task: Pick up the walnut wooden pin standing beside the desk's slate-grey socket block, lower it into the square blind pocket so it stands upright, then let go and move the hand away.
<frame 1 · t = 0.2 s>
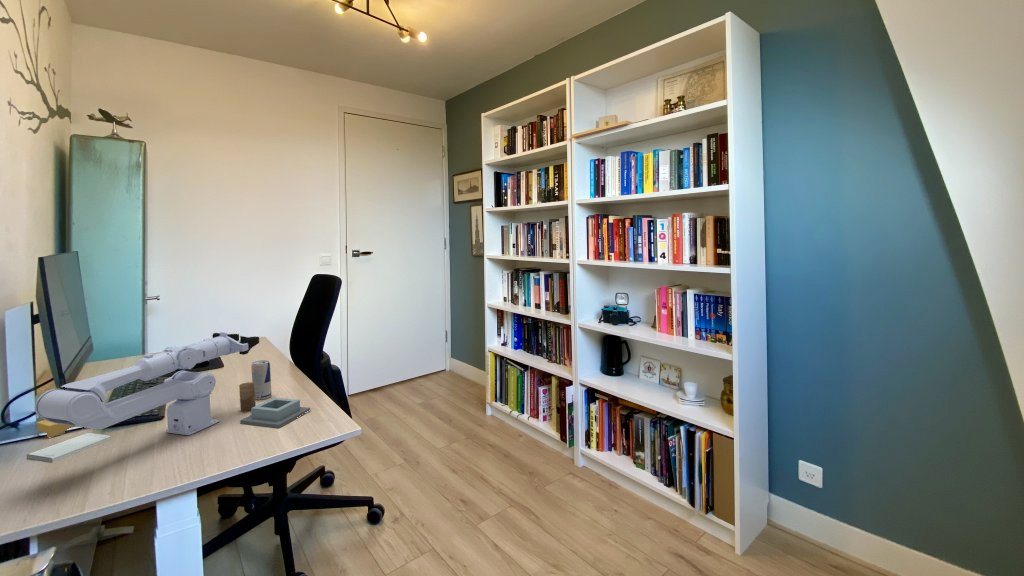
hand: (248, 338, 139), 21 cm above the table, tool horizontal, fingers open, 7 cm apart
socket block: (276, 417, 129), on the table
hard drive: (71, 451, 109), on the table
energy drink: (262, 397, 146), on the table
walnut pin: (248, 409, 135), on the table
rubber stamp: (68, 430, 120), on the table
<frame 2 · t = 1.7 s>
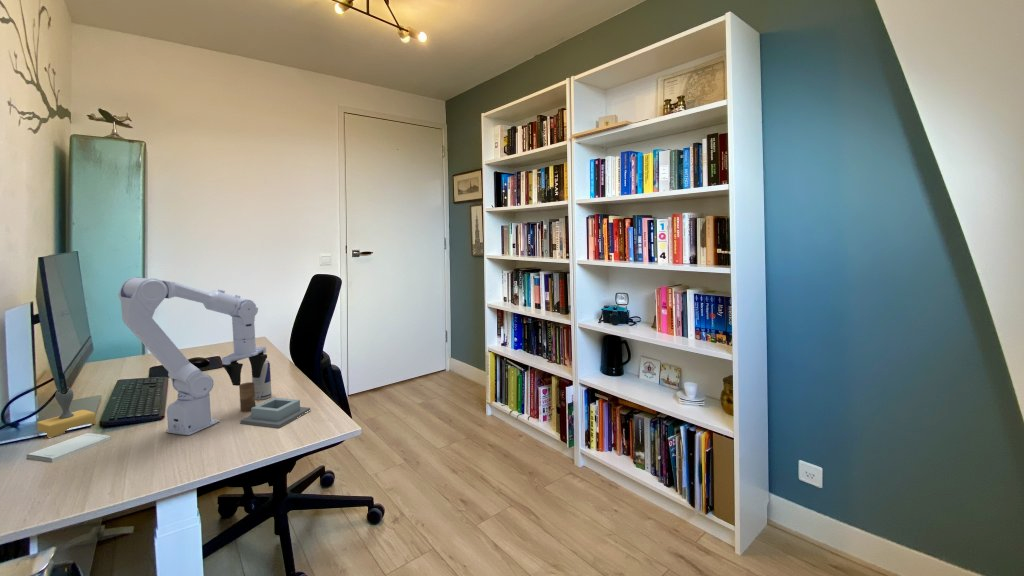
hand: (246, 381, 134), 9 cm above the table, tool pointing down, fingers open, 7 cm apart
nothing on the table moved.
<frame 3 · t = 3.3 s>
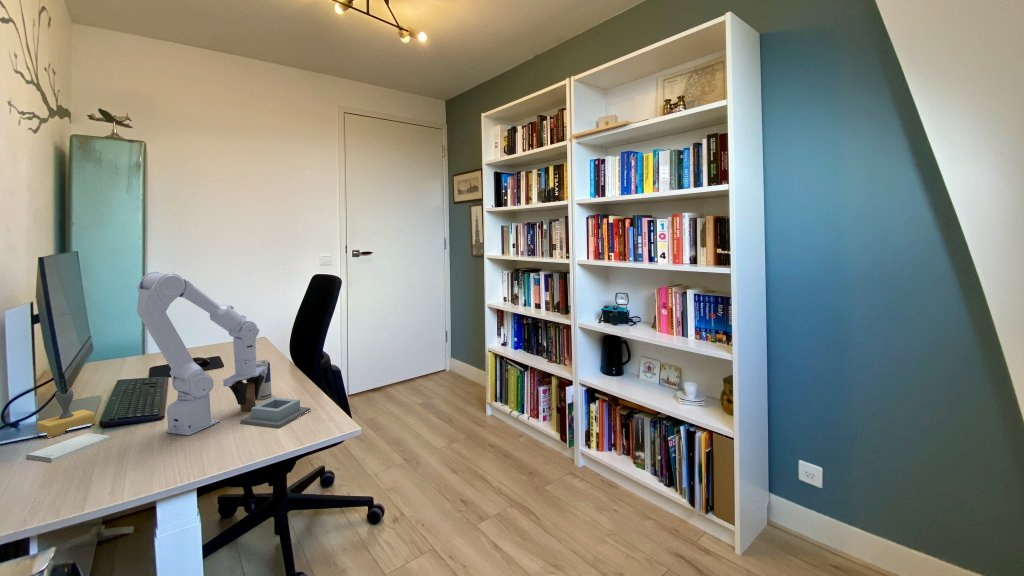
hand: (247, 401, 135), 2 cm above the table, tool pointing down, fingers closed on walnut pin, 4 cm apart
walnut pin: (248, 409, 135), on the table, touching gripper
everything else where it was.
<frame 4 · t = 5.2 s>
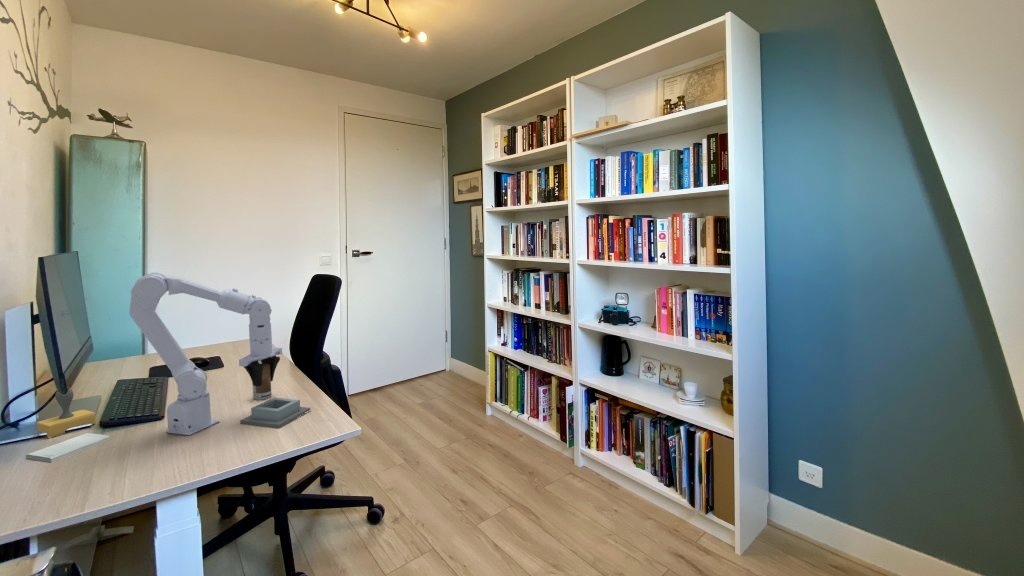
hand: (263, 383, 131), 9 cm above the table, tool pointing down, fingers closed on walnut pin, 4 cm apart
walnut pin: (263, 391, 131), point 7 cm above the table, touching gripper
everything else where it was.
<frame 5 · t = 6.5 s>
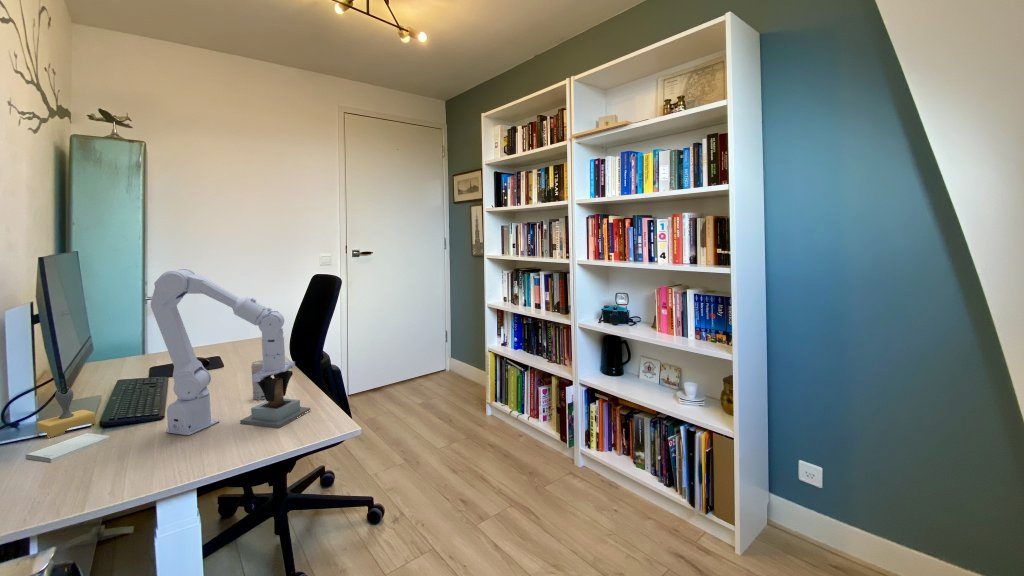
hand: (275, 398, 129), 6 cm above the table, tool pointing down, fingers closed on walnut pin, 4 cm apart
walnut pin: (276, 406, 129), point 3 cm above the table, touching gripper
everything else where it was.
when the fingers open (5 cm above the table, at t = 7.5 s): walnut pin drops 1 cm, resting on socket block.
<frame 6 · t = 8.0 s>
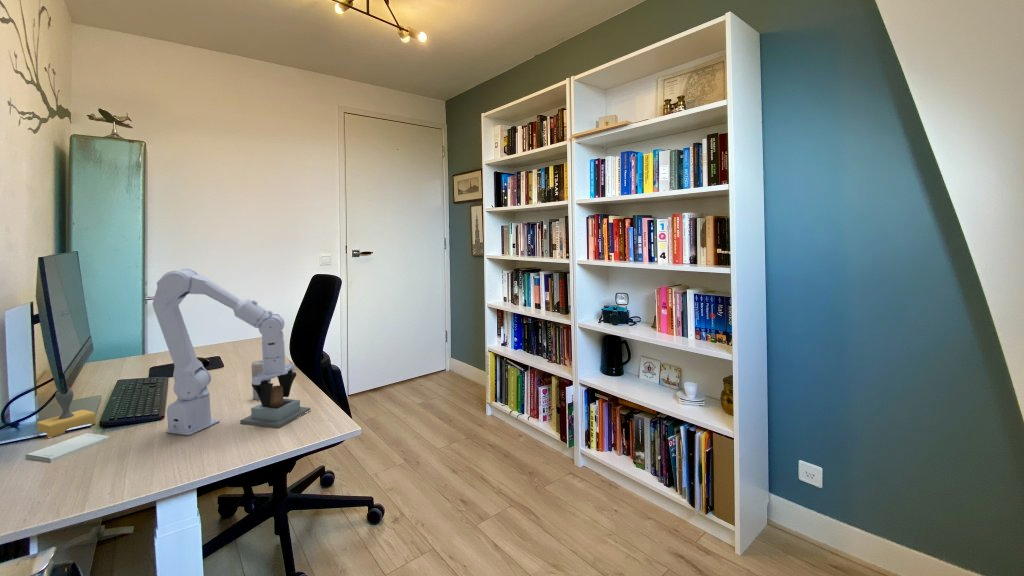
hand: (275, 401, 129), 5 cm above the table, tool pointing down, fingers open, 7 cm apart
walnut pin: (276, 413, 129), point 1 cm above the table, touching socket block
everything else where it was.
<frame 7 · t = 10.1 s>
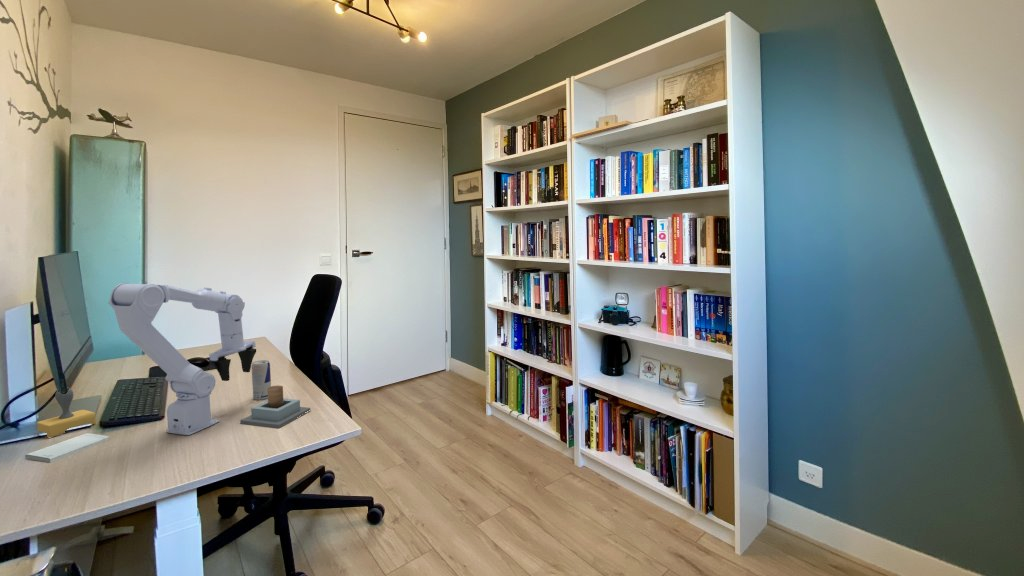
hand: (236, 376, 135), 10 cm above the table, tool pointing down, fingers open, 7 cm apart
nothing on the table moved.
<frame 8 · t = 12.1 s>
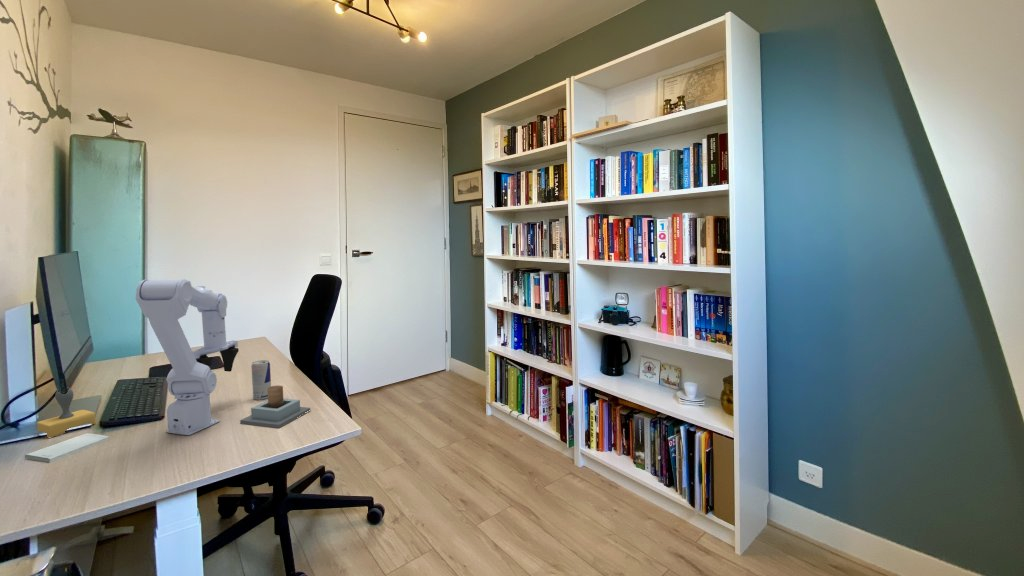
hand: (217, 374, 136), 10 cm above the table, tool pointing down, fingers open, 7 cm apart
nothing on the table moved.
at the end: walnut pin 0.0 cm off-centre on the socket block, point 1.0 cm above the socket block's base; walnut pin tilted 0°; the gripper is holding nothing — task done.
